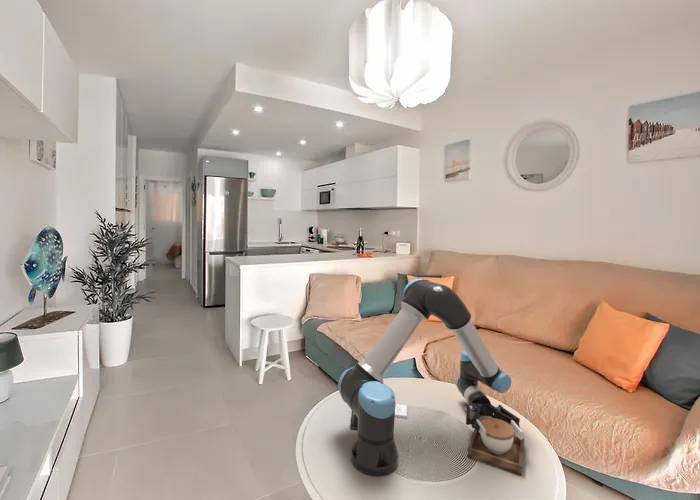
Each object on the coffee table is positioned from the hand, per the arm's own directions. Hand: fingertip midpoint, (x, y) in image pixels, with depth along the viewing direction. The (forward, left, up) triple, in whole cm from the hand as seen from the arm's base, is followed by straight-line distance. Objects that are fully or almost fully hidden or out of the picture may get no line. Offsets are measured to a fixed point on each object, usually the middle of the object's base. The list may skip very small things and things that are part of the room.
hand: (503, 435), depth 111 cm
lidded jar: (-2, +3, -8) cm, 8 cm away
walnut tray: (-2, +3, -9) cm, 9 cm away
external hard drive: (-42, +8, -9) cm, 44 cm away
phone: (-50, -4, -9) cm, 51 cm away
